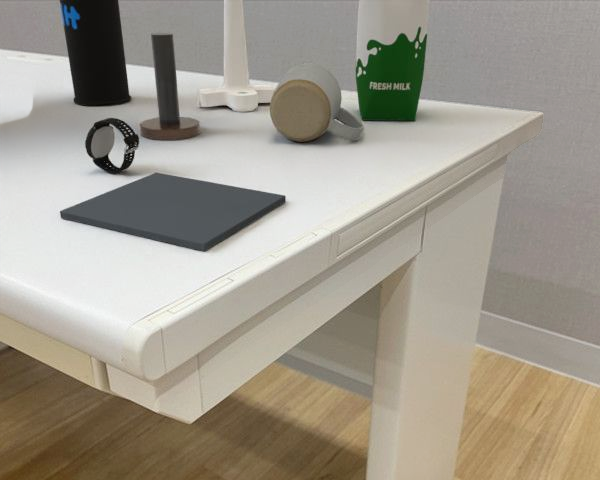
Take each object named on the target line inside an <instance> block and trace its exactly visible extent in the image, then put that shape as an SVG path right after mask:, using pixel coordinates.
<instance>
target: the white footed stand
mask: <svg viewBox="0 0 600 480" xmlns="http://www.w3.org/2000/svg"><path fill="white" fill-rule="evenodd" d="M243 2H244V0H223V85H222V86H216V87H206V88H199V89H196V94H197V95H196V97H197V107H198V108H210V107H218V106H227V107H229V108H231V110H232V111H234V112H239V113H240V112H241V113H246V112H248V113H249V112H253V111H255V109H256V108H257V107H259V104H262V103H263V104H264V103H265V104H270V102H271V98H272V95H273V92H274V90H275V89H276V87H277V86H274V85H269V84H267V85H265V84H263V85H261V84H260V85H257V84H255V85H251V83H250V73H249V62H248V61H249V60H248V51H247V48H248V47H247V39H246V38H247V37H246V25H245V16H244V15H245V11H244V3H243Z"/></svg>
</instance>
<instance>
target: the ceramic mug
mask: <svg viewBox="0 0 600 480" xmlns="http://www.w3.org/2000/svg"><path fill="white" fill-rule="evenodd" d="M275 87H276V89H275V90H274V92H273V95H272V98H271V102H270V103H269V115H270V119H271V122H272V124H273V126H274V127H275V129H276V130H277V131H278V133H280V134H281V136H283V137H284V138H286V139H288V140H290V141H293V142H299V143H301V142H302V143H303V142H310V141H313V140H315V139H317V138H319V137H321V136H322V135H324V133H326V132H328V133H330V134H331V135H334V136H335V137H338V138H341V139H342V140H347V141H357V140H358V139H360V137H361V135H362V133H363V131H364V128H365V125H364V123H363V122H362V120H360V119H359V118H358V117H357V116H356V115H354V113H352V112H351V111H349V110H348V109H346V108H344V107H342V106H341V104H342V90H341V87H340V84H339V81H338V80H337V78H336V77H335V75H334V74H333V73H332V72H330V70H328V69H327V68H325V67H324V66H322V65H320V64H317V63H314V62H313V63H312V62H308V63H307V62H305V63H300V64H297V65H295V66H293V67H291V68H289V70H288V71H286V73H284V75H283V76H282V79H281V80H280V81H279V83H278V84H277V86H275Z"/></svg>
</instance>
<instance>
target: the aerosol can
mask: <svg viewBox="0 0 600 480" xmlns="http://www.w3.org/2000/svg"><path fill="white" fill-rule="evenodd" d="M119 3H120V1H119V0H59V6H60V12H61V18H62V23H63V24H62V25H63V31H64V37H65V43H66V48H67V49H66V50H67V56H68V63H69V69H70V74H71V81H72V88H73V94H74V98H73V99H72V101H73V103H74V104H77V105H81V106H88V107H106V106H107V107H108V106H116V105H122V104H125V103H129V102H131V100H132V96H131V95H130V88H129V79H128V71H127V63H126V62H127V61H126V55H125V54H126V53H125V46H124V37H123V29H122V21H121V12H120V4H119Z"/></svg>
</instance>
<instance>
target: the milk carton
mask: <svg viewBox="0 0 600 480" xmlns="http://www.w3.org/2000/svg"><path fill="white" fill-rule="evenodd" d="M430 3H431V0H358V9H357V25H356V27H357V28H356V48H355V49H356V50H355V83H356V93H357V102H358V110H359V114H360V119H361V121H408V122H409V121H411V122H412V121H413V122H415V121H416V117H417V113H418V109H419V102H420V97H421V95H420V94H421V90H422V87H423V86H422V85H423V81H424V72H425V62H426V52H427V43H428V42H427V41H428V31H429V21H430V20H429V19H430V7H431V6H430V5H431V4H430Z"/></svg>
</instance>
